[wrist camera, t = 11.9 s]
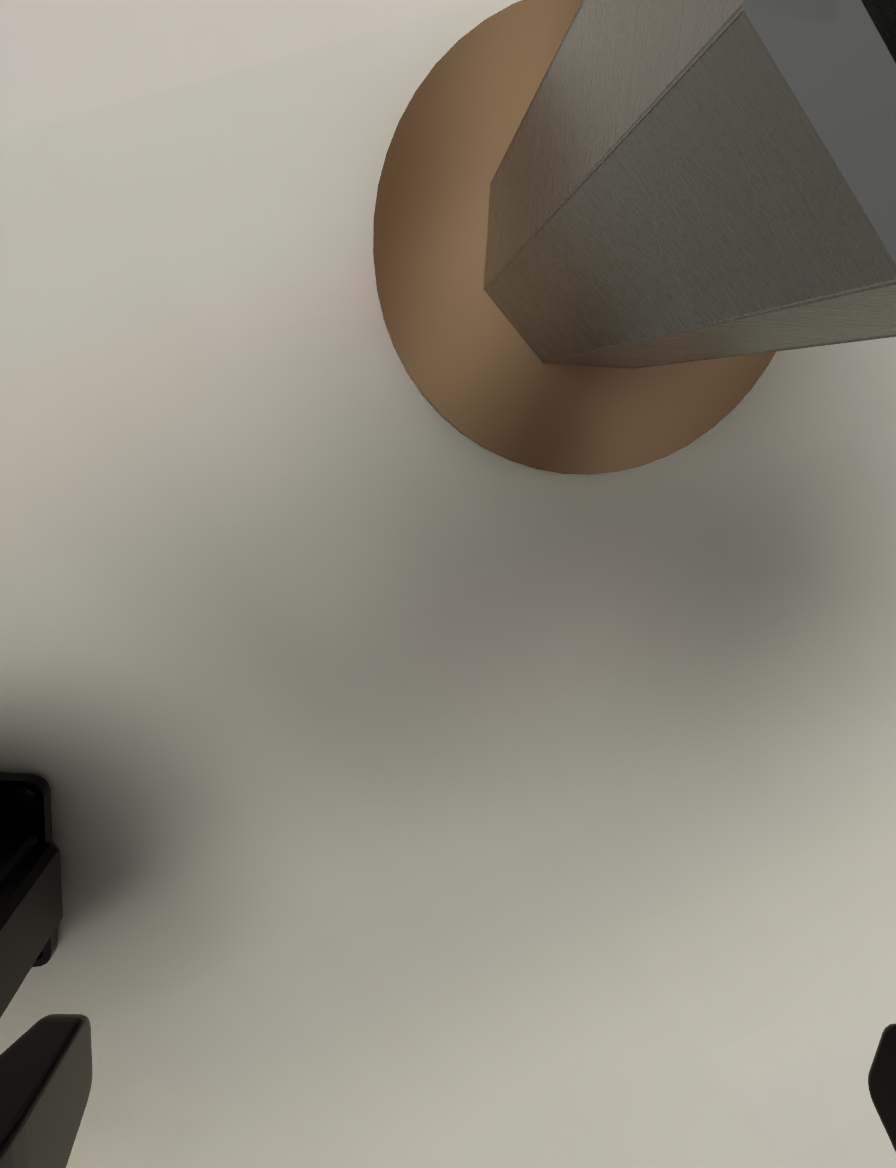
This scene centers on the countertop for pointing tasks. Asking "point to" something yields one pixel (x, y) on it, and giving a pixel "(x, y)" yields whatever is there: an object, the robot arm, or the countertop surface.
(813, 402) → the countertop surface
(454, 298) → the post stand
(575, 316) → the steel sleeve
